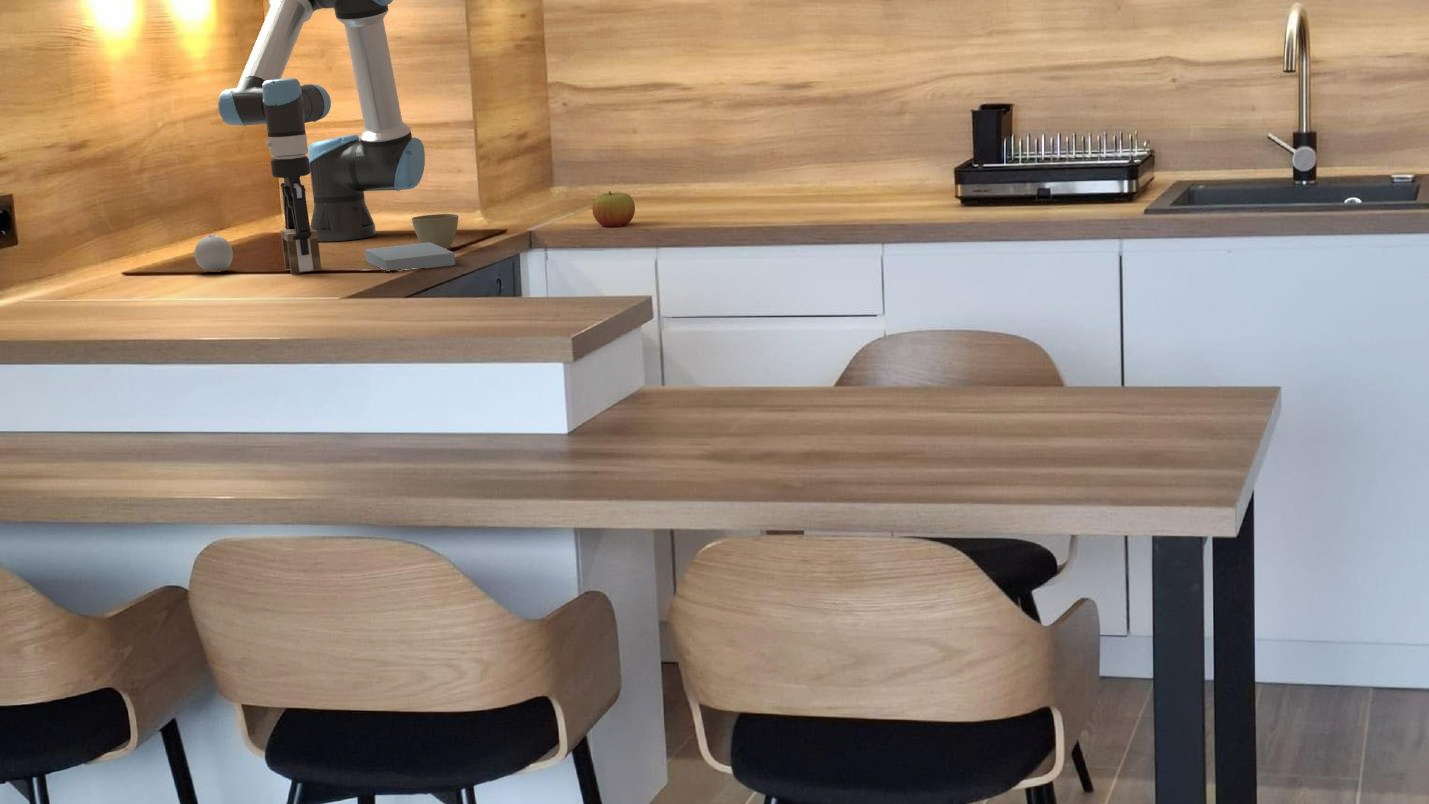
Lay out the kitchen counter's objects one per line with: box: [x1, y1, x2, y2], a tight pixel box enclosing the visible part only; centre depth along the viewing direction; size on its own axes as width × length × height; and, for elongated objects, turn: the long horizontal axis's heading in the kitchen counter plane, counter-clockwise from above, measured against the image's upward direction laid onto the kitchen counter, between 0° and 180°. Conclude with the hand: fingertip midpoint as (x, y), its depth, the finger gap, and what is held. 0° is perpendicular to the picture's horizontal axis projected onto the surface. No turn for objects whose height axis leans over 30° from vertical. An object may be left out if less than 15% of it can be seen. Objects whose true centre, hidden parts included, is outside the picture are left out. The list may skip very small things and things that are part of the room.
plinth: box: [364, 242, 456, 271], centre depth 359 cm, size 20×14×2 cm
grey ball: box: [193, 234, 234, 271], centre depth 362 cm, size 8×8×8 cm
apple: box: [591, 190, 636, 227], centre depth 398 cm, size 10×10×8 cm
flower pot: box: [411, 213, 459, 249], centre depth 376 cm, size 10×10×7 cm
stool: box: [280, 227, 322, 274], centre depth 356 cm, size 8×6×8 cm
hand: (302, 267), depth 357 cm, fingers closed on stool, 8 cm apart
